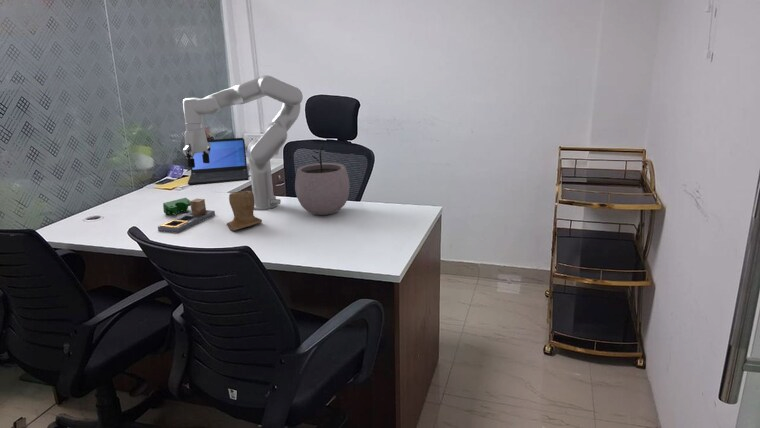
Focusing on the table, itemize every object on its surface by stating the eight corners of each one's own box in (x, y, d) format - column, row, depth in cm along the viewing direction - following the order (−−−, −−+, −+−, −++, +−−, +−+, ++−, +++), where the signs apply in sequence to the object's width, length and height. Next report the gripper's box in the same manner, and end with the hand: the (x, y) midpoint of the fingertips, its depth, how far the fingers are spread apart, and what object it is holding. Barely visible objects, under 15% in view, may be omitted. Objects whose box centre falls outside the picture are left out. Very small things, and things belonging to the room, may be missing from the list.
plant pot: (313, 203, 256) (308, 141, 247) (359, 207, 248) (356, 142, 239) (287, 219, 235) (281, 151, 226) (337, 223, 227) (332, 153, 218)
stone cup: (249, 219, 237) (246, 186, 233) (266, 224, 229) (262, 190, 225) (219, 228, 227) (215, 193, 222) (235, 233, 219) (231, 198, 214)
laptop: (187, 186, 301) (182, 152, 295) (193, 172, 335) (188, 141, 330) (248, 180, 308) (244, 147, 302) (247, 167, 343) (244, 137, 337)
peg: (206, 216, 244) (204, 199, 241) (200, 219, 240) (198, 201, 237) (198, 215, 245) (196, 198, 243) (192, 218, 241) (189, 201, 239)
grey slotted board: (215, 214, 245) (214, 210, 244) (177, 232, 223) (176, 227, 222) (197, 213, 248) (196, 208, 248) (158, 230, 226) (157, 225, 225)
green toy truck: (174, 224, 248) (166, 210, 242) (167, 219, 251) (159, 205, 245) (196, 209, 254) (189, 195, 247) (189, 204, 257) (182, 190, 251)
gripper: (201, 123, 244) (205, 161, 249) (173, 129, 229) (178, 168, 234) (214, 124, 242) (218, 162, 247) (188, 129, 226) (192, 169, 231)
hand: (199, 165), depth 240 cm, fingers open, 9 cm apart
